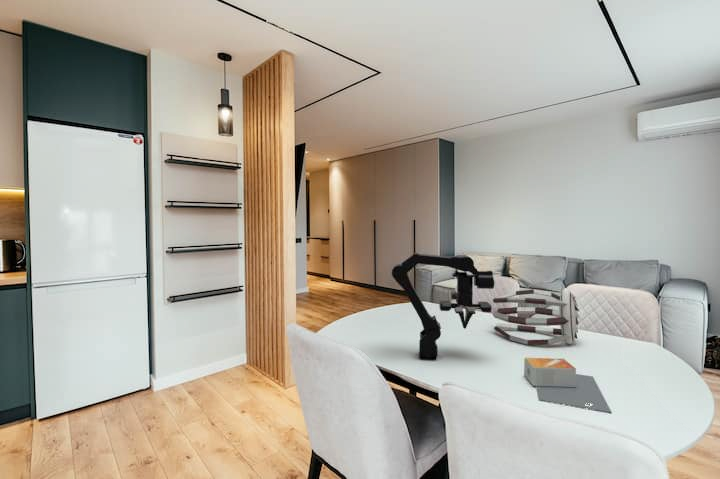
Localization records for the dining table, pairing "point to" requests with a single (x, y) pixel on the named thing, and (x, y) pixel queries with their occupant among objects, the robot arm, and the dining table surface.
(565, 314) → the decorative basket
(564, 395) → the mouse pad
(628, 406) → the dining table surface
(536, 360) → the small box
